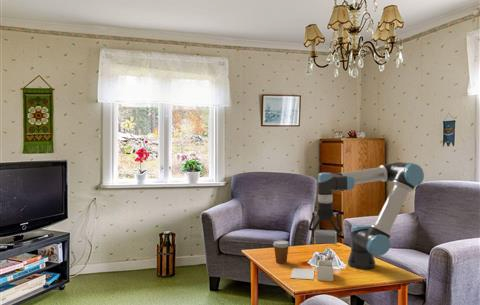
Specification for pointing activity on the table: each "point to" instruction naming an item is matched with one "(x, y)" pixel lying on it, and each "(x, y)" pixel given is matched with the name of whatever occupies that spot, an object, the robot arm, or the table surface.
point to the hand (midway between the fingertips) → (325, 243)
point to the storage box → (325, 270)
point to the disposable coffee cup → (281, 251)
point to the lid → (325, 236)
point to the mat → (302, 273)
